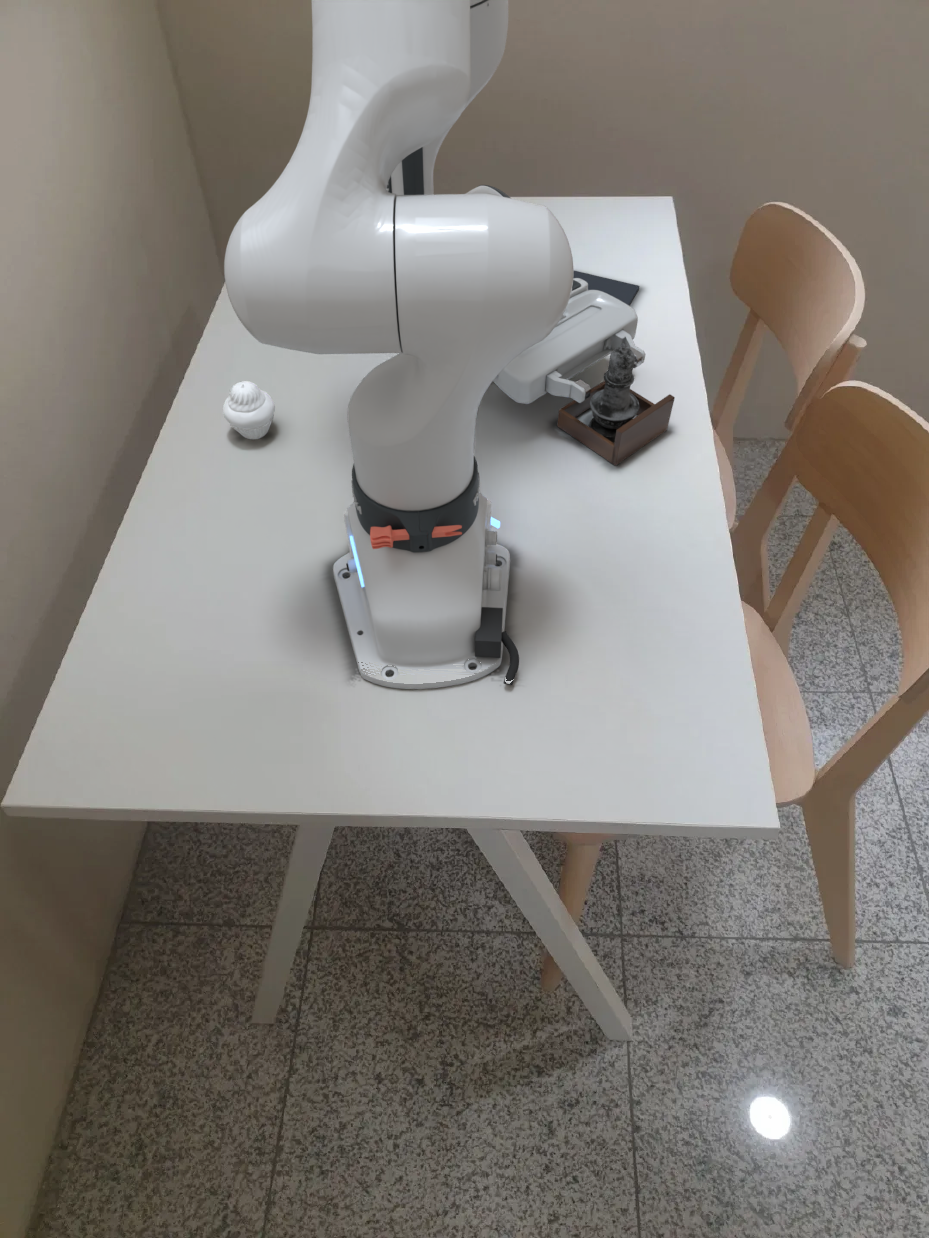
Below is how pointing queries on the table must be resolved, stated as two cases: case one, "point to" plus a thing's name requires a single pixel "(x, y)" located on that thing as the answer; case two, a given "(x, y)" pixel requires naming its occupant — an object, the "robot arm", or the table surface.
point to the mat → (609, 286)
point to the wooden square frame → (628, 436)
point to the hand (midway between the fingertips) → (614, 377)
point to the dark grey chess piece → (615, 395)
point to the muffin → (249, 410)
